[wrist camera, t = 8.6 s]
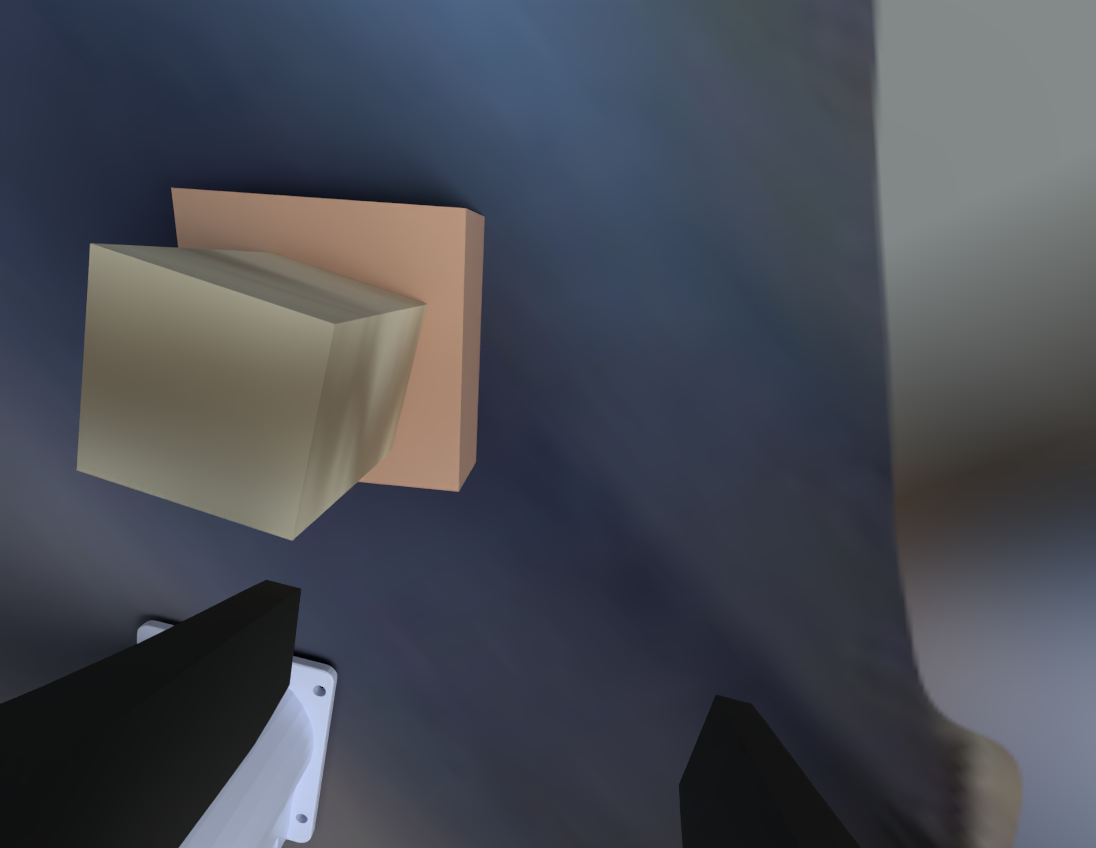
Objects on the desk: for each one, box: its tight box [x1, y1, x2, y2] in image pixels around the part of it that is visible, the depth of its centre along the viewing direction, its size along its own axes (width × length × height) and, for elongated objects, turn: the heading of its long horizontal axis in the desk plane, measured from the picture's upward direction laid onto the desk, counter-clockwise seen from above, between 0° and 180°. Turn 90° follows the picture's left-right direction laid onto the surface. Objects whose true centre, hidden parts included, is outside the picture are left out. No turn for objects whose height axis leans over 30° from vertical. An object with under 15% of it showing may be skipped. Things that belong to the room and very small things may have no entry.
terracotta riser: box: [171, 188, 484, 492], centre depth 17 cm, size 8×8×3 cm
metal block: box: [77, 243, 427, 540], centre depth 13 cm, size 4×4×6 cm
